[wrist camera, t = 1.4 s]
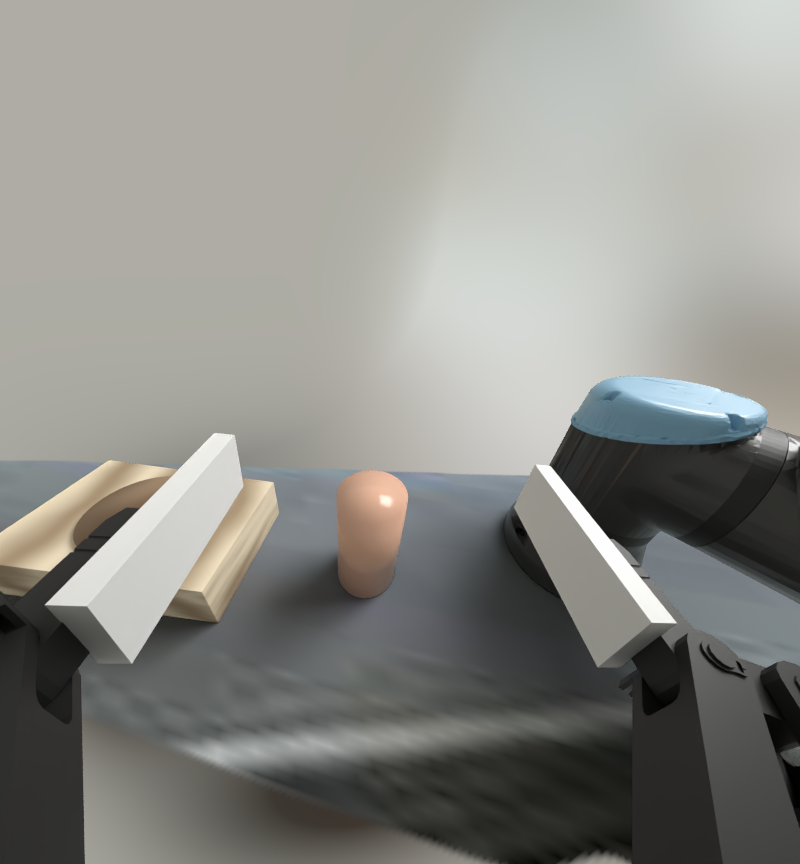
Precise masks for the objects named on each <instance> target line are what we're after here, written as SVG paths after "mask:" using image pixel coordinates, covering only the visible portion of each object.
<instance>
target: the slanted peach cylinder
mask: <svg viewBox="0 0 800 864" xmlns="http://www.w3.org/2000/svg"><path fill="white" fill-rule="evenodd" d="M407 502H408V493H407V490H406V488H405V486H404V485H403V483H402V482H401V481H400V480H399V479H397V478H396V477H394V476H393V475H391V474H388V473H385V472H382V471H375V470H368V471H361V472H358V473H355V474H353V475H351V476H349V477H347V478H346V479H345V480H344V481H343V482H342V483H341V484H340V486H339V488H338V491H337V544H338V577H339V581H340V583H341V585H342V587H343V588H344V589H345V590H346V591H347V592H348V593H350V594H351V595H353V596H355V597H359V598H372V597H375V596H378V595H380V594H381V593H383V592H384V591H385V590H387V588H388V587H389V586H390V585H391V583H392V581H393V578H394V574H395V568H396V563H397V557H398V552H399V546H400V541H401V535H402V530H403V524H404V518H405V513H406V507H407Z"/></svg>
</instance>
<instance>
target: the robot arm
mask: <svg viewBox="0 0 800 864" xmlns="http://www.w3.org/2000/svg"><path fill="white" fill-rule="evenodd" d="M767 417H768V413H767V411H766V409H765V408H764V407H763V406H761V405H760V404H758V403H756V402H754V401H752V400H750V399H748V398H746V397H743V396H740V395H737V394H732V393H727V392H723V391H722V390H720V389H717V388H714V387H709V386H705V385H700V384H696V383H691V382H685V381H679V380H673V379H665V378H658V377H645V376H623V377H615V378H611V379H607V380H604V381H602V382H600V383H598V384H597V385H596V386H594V387H593V388H592V389H591V390H590V392H589V393H588V395H587V396H586V398H585V400H584V401H583V403H582V405H581V406H580V408H579V410H578V411H577V412H576V413H575V414H574V415H573V416H572V419H571V425H570V427H569V429H568V431H567V433H566V435H565V437H564V439H563V441H562V443H561V444H560V446H559V448H558V450H557V452H556V454H555V456H554V457H553V459H552V461H551V463H550V465H549V466H544V465H535V466H534V468H533V470H532V472H531V474H530V476H529V478H528V480H527V482H526V484H525V486H524V488H523V490H522V492H521V494H520V496H519V498H518V500H517V501H516V502H515V503H514V504H513V506H512V507H511V509H510V511H509V513H508V515H507V517H506V520H505V524H504V534H505V539H506V542H507V545H508V547H509V549H510V551H511V553H512V555H513V556H514V558H515V559H516V561H517V562H518V563H519V565H520V566H521V567H522V568H523V570H524V571H525V572H526V573H527V574H528V575H529V576H530V577H531V578H532V579H534V580H535V581H536V582H537V583H538V584H540V585H541V586H542V587H544V588H545V589H546V590H548V591H549V592H551V593H553V594H554V595H556V596H558V597H560V598H562V600H563V602H564V604H565V606H566V608H567V610H568V612H569V614H570V615H571V617H572V619H573V621H574V623H575V625H576V627H577V629H578V631H579V633H580V635H581V636H582V638H583V640H584V642H585V644H586V646H587V648H588V650H589V652H590V654H591V656H592V658H593V659H594V661H595V663H596V665H597V667H605V668H620V667H621V666H623V665H624V664H625V663H627V662H628V661H629V660H630V659H632V660H633V662H634V664H635V665H636V667H637V668H638V669H637V670H636V671H634V672H633V673H631V674H630V675H629V676H627V677H626V678H624V679H623V680H622V681H621V682H620V685H619V688H621V689H622V690H624V689H625V688H627V687H628V686H630V685H631V684H633V690H632V691H631V692H630V693H629V695H630V696H631V697H633V734H632V864H800V766H795V765H794V764H793V762H792V761H791V759H790V758H789V756H788V755H787V753H786V750H790V749H793V748H796V747H799V746H800V667H799V666H798V665H796V664H793V663H790V662H786V661H781V662H777V663H775V664H773V665H771V666H769V667H767V668H765V667H762V666H759V665H757V664H754V663H751V662H748V661H746V660H743V659H740V658H739V657H738V656H737V655H736V654H735V653H734V652H733V651H731V650H730V649H729V648H728V647H727V646H726V645H725V644H723V643H722V642H720V641H719V640H718V639H716V638H715V637H713V636H711V635H709V634H707V633H705V632H702V631H697V630H694V629H693V628H692V627H691V626H690V624H689V623H688V622H687V621H686V620H685V619H684V617H683V616H682V615H681V614H680V613H679V611H678V610H677V609H676V608H675V607H674V605H673V604H672V603H671V602H670V601H669V599H668V598H667V597H666V596H665V595H664V593H663V592H662V591H661V590H660V589H659V587H658V586H657V585H656V584H655V583H654V581H653V580H650V578H649V576H648V574H647V573H646V572H645V571H644V570H643V568H641V564H642V560H643V557H644V553H645V549H646V545H647V544H648V542H649V541H650V540H651V539H652V538H653V537H654V536H655V535H656V534H657V533H658V532H660V531H663V532H665V533H667V534H669V535H671V536H673V537H675V538H677V539H679V540H681V541H683V542H685V543H687V544H688V545H690V546H692V547H694V548H696V549H698V550H700V551H702V552H704V553H705V554H707V555H709V556H711V557H713V558H715V559H717V560H719V561H720V562H722V563H724V564H726V565H728V566H730V567H732V568H734V569H735V570H737V571H739V572H741V573H743V574H745V575H747V576H749V577H750V578H752V579H754V580H756V581H758V582H760V583H762V584H764V585H765V586H767V587H769V588H771V589H773V590H775V591H777V592H779V593H780V594H782V595H784V596H786V597H788V598H790V599H792V600H794V601H795V602H797V603H799V604H800V437H799V436H796V435H792V434H789V433H785V432H782V431H778V430H775V429H771V428H768V427H766V425H767V420H766V419H767ZM242 488H243V480H242V475H241V469H240V463H239V458H238V452H237V446H236V441H235V436H234V435H228V434H218V433H214V434H213V435H212V436H211V437H210V438H209V439H208V440H207V441H206V442H205V443H204V444H203V445H202V446H201V447H200V448H199V449H198V450H197V451H196V453H194V454H193V455H192V457H191V458H189V460H187V461H186V462H185V463H184V464H183V466H182V467H181V468H180V469H179V470H178V471H177V472H176V473H175V474H174V475H173V476H172V477H171V478H170V479H169V480H168V481H167V482H166V483H165V484H164V485H163V486H162V487H161V488H160V489H159V490H158V491H157V492H156V493H155V494H154V495H153V496H152V497H151V498H150V499H149V500H148V501H147V502H146V503H145V504H144V505H143V506H142V507H141V508H129V507H126V508H125V509H123V510H121V511H120V512H118V513H116V514H115V515H113V516H111V517H109V518H108V519H106V520H105V521H104V522H103V523H101V524H100V525H99V526H98V527H97V528H96V529H95V530H94V531H93V532H92V533H91V534H90V535H89V537H88V538H87V539H84V540H83V541H82V542H81V543H80V544H79V545H78V546H77V547H76V548H74V551H73V552H70V553H69V554H68V555H67V556H66V557H65V558H64V559H63V560H62V561H60V562H59V563H58V564H57V565H56V566H55V567H54V568H53V569H52V570H51V571H50V572H49V573H48V574H46V575H45V576H44V577H43V578H42V579H41V580H40V581H39V582H38V583H37V584H36V585H35V586H34V587H32V588H31V589H30V590H29V591H28V592H27V593H26V594H25V595H24V596H23V597H22V598H21V599H19V600H18V601H17V602H16V603H15V604H14V605H12V604H11V603H10V602H9V601H8V600H7V599H6V598H5V597H4V596H3V595H1V594H0V864H85V857H84V856H85V855H84V810H83V809H84V807H83V759H82V710H81V675H80V672H79V670H78V667H79V666H80V665H81V663H82V662H83V661H84V659H85V658H86V657H87V655H88V654H90V655H91V656H92V657H93V658H94V659H95V660H96V661H97V662H98V664H132V663H133V661H134V660H135V658H136V657H137V655H138V653H139V652H140V650H141V649H142V647H143V645H144V644H145V642H146V641H147V639H148V637H149V636H150V634H151V633H152V631H153V629H154V628H155V626H156V625H157V623H158V621H159V620H160V618H161V617H162V615H163V613H164V612H165V610H166V609H167V607H168V606H169V604H170V602H171V601H172V599H173V598H174V596H175V594H176V593H177V591H178V590H179V588H180V586H181V585H182V583H183V582H184V580H185V578H186V577H187V575H188V574H189V572H190V570H191V569H192V567H193V566H194V564H195V563H196V561H197V559H198V558H199V556H200V555H201V553H202V551H203V550H204V548H205V547H206V545H207V543H208V542H209V540H210V539H211V537H212V535H213V534H214V532H215V531H216V529H217V527H218V526H219V524H220V523H221V521H222V519H223V518H224V516H225V515H226V513H227V512H228V510H229V508H230V507H231V505H232V504H233V502H234V500H235V499H236V497H237V496H238V494H239V492H240V491H241V489H242Z"/></svg>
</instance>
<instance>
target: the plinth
mask: <svg viewBox="0 0 800 864" xmlns="http://www.w3.org/2000/svg"><path fill="white" fill-rule="evenodd" d="M177 471H178V469H170V468H163V467H155V466H148V465H140V464H133V463H126V462H118V461H111V460H109V461H107V462H106V463H104V464H103V465H101V466H100V467H98V468H97V469H95V470H94V471H92V472H91V473H89V474H88V475H86V476H85V477H83V478H82V479H80V480H79V481H77V482H76V483H74V484H73V485H71V486H70V487H68V488H67V489H65V490H64V491H62V492H61V493H59V494H58V495H56V496H55V497H53V498H52V499H50V500H49V501H47V502H46V503H44V504H43V505H41V506H40V507H38V508H37V509H35V510H34V511H32V512H31V513H29V514H28V515H26V516H25V517H23V518H22V519H20V520H19V521H17V522H16V523H14V524H13V525H11V526H10V527H8V528H7V529H5V530H4V531H2V532H1V533H0V591H1V592H2V593H4V594H8V595H15V596H24V595H25V594H26V593H27V592H28V591H29V590H30V589H31V588H32V587H34V586H35V585H36V584H37V583H38V582H39V581H40V580H41V579H42V578H43V577H44V576H45V575H46V574H48V573H49V572H50V571H51V570H52V569H53V568H54V567H55V566H56V565H57V564H58V563H59V562H60V561H62V560H63V559H64V558H65V557H66V556H67V555H68V554H69V553H70V552H73V551H74V548H76V547H77V546H78V545H79V544H80V543H81V542H82V541H83V540H84V539H87V538H88V537H89V535H90V534H91V533H92V532H93V531H94V530H95V529H96V528H97V527H98V526H99V525H100V524H101V523H103V522H104V521H105V520H106V519H108V518H109V517H111V516H113V515H115V514H116V513H118V512H120V511H121V510H123V509H125V508H126V507H129V508H141V507H142V506H143V505H144V504H145V503H146V502H147V501H148V500H149V499H150V498H151V497H152V496H153V495H154V494H155V493H156V492H157V491H158V490H159V489H160V488H161V487H162V486H163V485H164V484H165V483H166V482H167V481H168V480H169V479H170V478H171V477H172V476H173V475H174V474H175V473H176V472H177ZM242 480H243V488H242V489H241V491H240V492H239V494H238V496H237V497H236V499H235V500H234V502H233V504H232V505H231V507H230V508H229V510H228V512H227V513H226V515H225V516H224V518H223V519H222V521H221V523H220V524H219V526H218V527H217V529H216V531H215V532H214V534H213V535H212V537H211V539H210V540H209V542H208V543H207V545H206V547H205V548H204V550H203V551H202V553H201V555H200V556H199V558H198V559H197V561H196V563H195V564H194V566H193V567H192V569H191V570H190V572H189V574H188V575H187V577H186V578H185V580H184V582H183V583H182V585H181V586H180V588H179V590H178V591H177V593H176V594H175V596H174V598H173V599H172V601H171V602H170V604H169V606H168V607H167V609H166V610H165V612H164V613H163V615H164V616H171V617H179V618H186V619H193V620H201V621H208V622H216V623H218V622H219V621H220V619H221V617H222V615H223V613H224V611H225V610H226V608H227V606H228V604H229V602H230V601H231V599H232V597H233V595H234V593H235V592H236V590H237V588H238V586H239V584H240V583H241V581H242V579H243V577H244V575H245V574H246V572H247V570H248V568H249V566H250V564H251V563H252V561H253V559H254V557H255V555H256V554H257V552H258V550H259V548H260V546H261V545H262V543H263V541H264V539H265V537H266V536H267V534H268V532H269V530H270V528H271V527H272V525H273V523H274V521H275V519H276V518H277V516H278V514H279V510H278V505H277V499H276V494H275V489H274V483H273V482H267V481H260V480H252V479H245V478H242Z"/></svg>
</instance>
